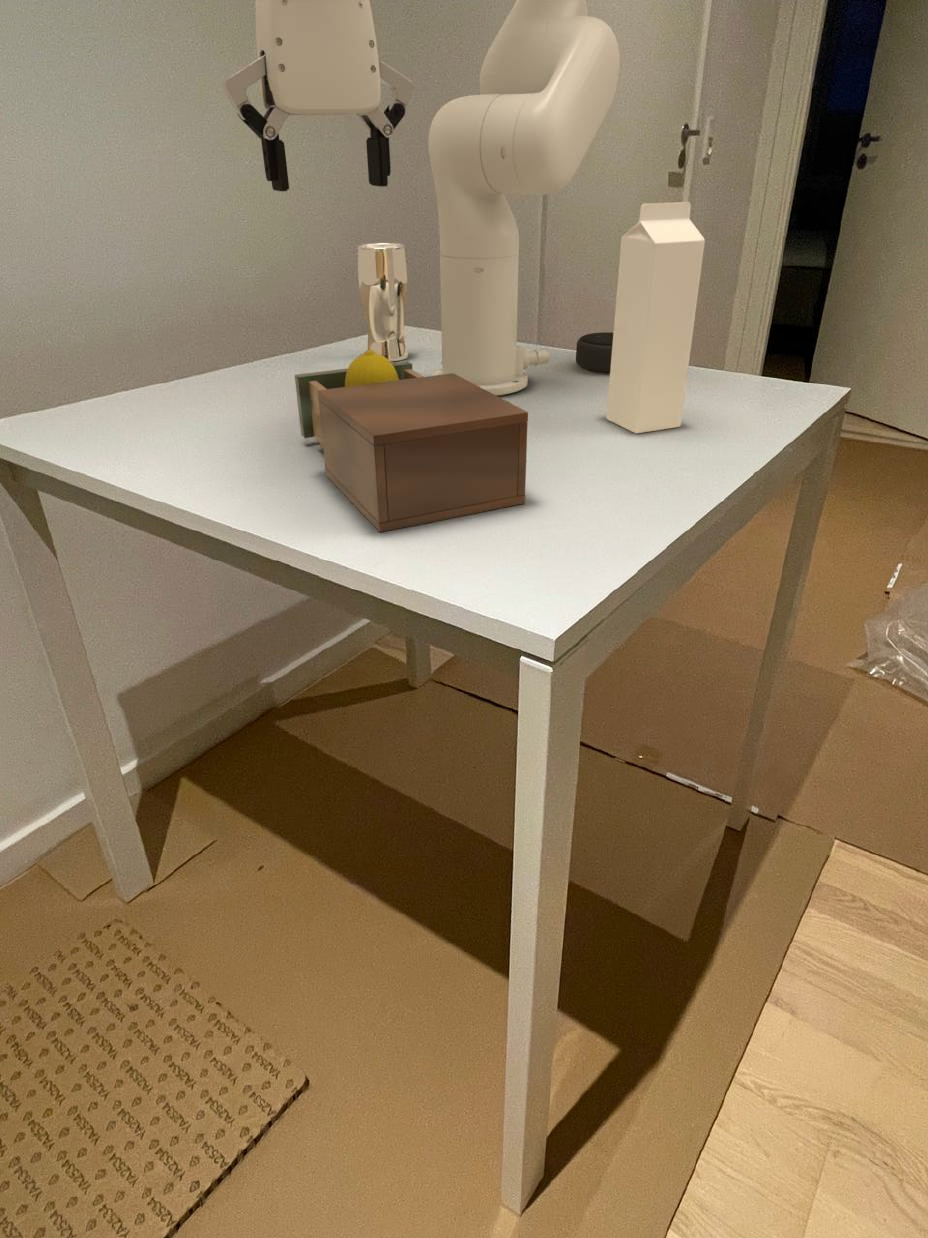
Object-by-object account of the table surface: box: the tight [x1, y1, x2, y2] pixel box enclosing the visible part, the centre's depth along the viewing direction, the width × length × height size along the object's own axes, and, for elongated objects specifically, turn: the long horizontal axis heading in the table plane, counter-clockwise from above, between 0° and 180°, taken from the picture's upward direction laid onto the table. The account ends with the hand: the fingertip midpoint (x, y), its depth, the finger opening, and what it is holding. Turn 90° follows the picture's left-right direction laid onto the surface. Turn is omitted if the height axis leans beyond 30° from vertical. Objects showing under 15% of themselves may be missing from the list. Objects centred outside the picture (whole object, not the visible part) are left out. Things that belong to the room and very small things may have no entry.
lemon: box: [345, 349, 399, 387], centre depth 81 cm, size 6×6×8 cm
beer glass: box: [357, 242, 409, 363], centre depth 115 cm, size 7×7×15 cm
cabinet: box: [318, 373, 529, 533], centre depth 72 cm, size 15×14×8 cm
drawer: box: [294, 361, 425, 447], centre depth 83 cm, size 21×12×6 cm, turn 26°
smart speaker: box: [575, 331, 614, 375], centre depth 112 cm, size 9×9×4 cm
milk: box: [606, 201, 706, 434], centre depth 85 cm, size 6×6×22 cm
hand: (330, 187), depth 76 cm, fingers open, 9 cm apart
